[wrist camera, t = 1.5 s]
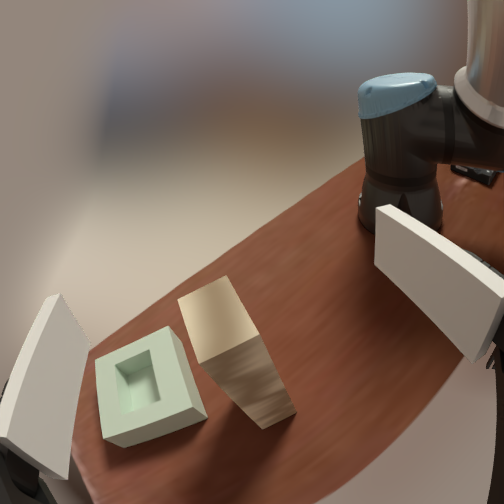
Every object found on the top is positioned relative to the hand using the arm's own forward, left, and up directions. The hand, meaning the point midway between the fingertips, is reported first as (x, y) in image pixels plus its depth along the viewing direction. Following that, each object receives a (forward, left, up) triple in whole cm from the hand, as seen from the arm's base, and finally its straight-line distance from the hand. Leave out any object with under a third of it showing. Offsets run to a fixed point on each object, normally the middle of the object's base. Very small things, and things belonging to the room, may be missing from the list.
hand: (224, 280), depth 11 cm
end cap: (+15, -12, -23) cm, 30 cm away
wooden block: (+2, -5, -23) cm, 23 cm away
